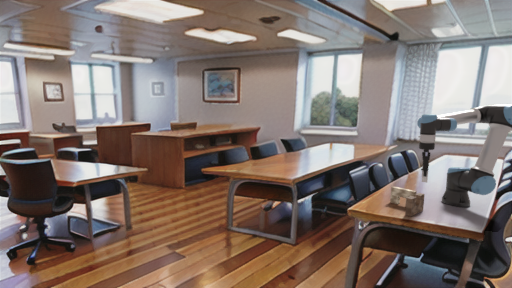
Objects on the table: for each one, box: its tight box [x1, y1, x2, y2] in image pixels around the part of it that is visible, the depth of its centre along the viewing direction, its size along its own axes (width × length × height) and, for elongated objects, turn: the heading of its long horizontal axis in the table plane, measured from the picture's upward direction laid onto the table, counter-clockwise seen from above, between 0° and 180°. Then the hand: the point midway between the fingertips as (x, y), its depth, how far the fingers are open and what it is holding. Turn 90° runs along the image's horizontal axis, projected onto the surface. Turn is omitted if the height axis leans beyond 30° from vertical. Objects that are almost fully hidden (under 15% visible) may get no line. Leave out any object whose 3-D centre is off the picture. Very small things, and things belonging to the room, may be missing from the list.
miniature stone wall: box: [405, 192, 425, 217], centre depth 171 cm, size 16×3×10 cm, turn 129°
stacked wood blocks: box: [389, 186, 417, 205], centre depth 185 cm, size 14×3×10 cm, turn 39°
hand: (424, 179), depth 170 cm, fingers open, 13 cm apart
